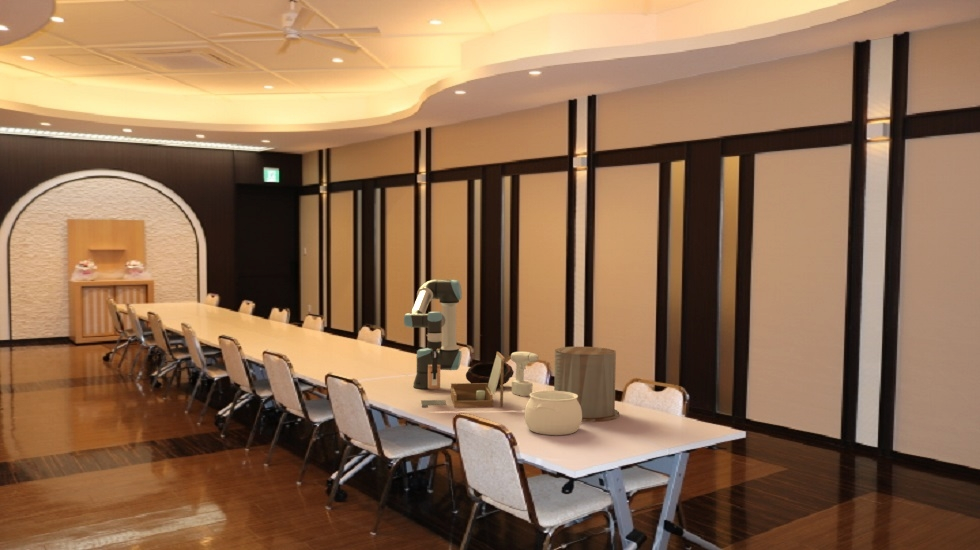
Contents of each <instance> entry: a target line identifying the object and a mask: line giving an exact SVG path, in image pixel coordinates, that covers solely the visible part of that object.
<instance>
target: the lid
mask: <svg viewBox="0 0 980 550" xmlns="http://www.w3.org/2000/svg"><path fill="white" fill-rule="evenodd" d="M495 354H496V355H495V358H494V361H493V362H494V365H493V369H492V372H491V376H490V380H489V383H488V389H489V390H490V392H491V393H492V395H495V394H496V390H497V388H498V387H497V384H498V380H499V377H500V373H501V359H504V361H505V360H506V358H505V356H504V355H502V353H500V352H499V351H496V353H495Z"/></svg>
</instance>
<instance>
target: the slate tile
mask: <svg viewBox="0 0 980 550" xmlns="http://www.w3.org/2000/svg"><path fill="white" fill-rule="evenodd" d="M420 404H422V405H421V407H422V408H429V406H447V405H448V404H447V402H446V399H436V400H435V399H434V400H433V399H432V400H431V399H430V400H429V399H428V400H426V399H424V400H423V399H422V400H420Z"/></svg>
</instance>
